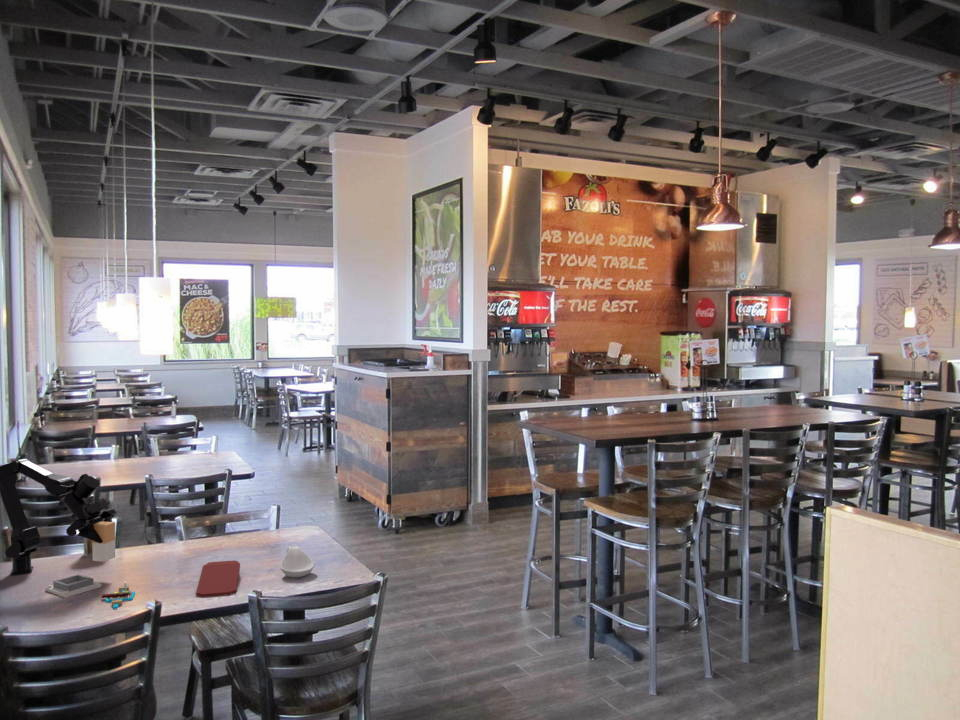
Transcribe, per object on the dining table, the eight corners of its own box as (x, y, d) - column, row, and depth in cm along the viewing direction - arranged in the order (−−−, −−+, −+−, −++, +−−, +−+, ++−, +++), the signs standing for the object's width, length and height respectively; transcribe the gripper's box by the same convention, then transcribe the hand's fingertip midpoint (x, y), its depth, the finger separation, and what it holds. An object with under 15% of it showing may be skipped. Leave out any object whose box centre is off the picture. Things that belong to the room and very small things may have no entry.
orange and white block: (92, 560, 254) (92, 524, 254) (102, 556, 259) (102, 521, 259) (105, 561, 253) (104, 525, 253) (115, 557, 258) (114, 522, 258)
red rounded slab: (235, 605, 242) (241, 570, 266) (235, 591, 241) (240, 557, 265) (195, 608, 239) (204, 572, 263) (195, 594, 238) (204, 559, 262)
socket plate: (45, 590, 244) (45, 581, 244) (81, 580, 254) (80, 571, 254) (65, 597, 238) (65, 588, 238) (101, 586, 248) (101, 577, 248)
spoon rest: (316, 578, 258) (316, 558, 257) (282, 582, 253) (282, 562, 253) (306, 559, 280) (306, 540, 279) (274, 562, 275) (274, 543, 275)
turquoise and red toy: (95, 612, 227) (129, 609, 229) (95, 594, 227) (128, 591, 229) (107, 590, 246) (138, 587, 249) (107, 574, 246) (138, 572, 248)
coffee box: (109, 549, 290) (108, 509, 290) (113, 553, 285) (112, 512, 285) (83, 554, 284) (82, 513, 284) (86, 558, 279) (86, 516, 279)
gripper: (73, 497, 247) (102, 532, 245) (111, 486, 265) (139, 518, 263) (53, 519, 249) (82, 554, 247) (93, 506, 267) (120, 538, 265)
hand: (107, 540), depth 256 cm, fingers closed on orange and white block, 5 cm apart
